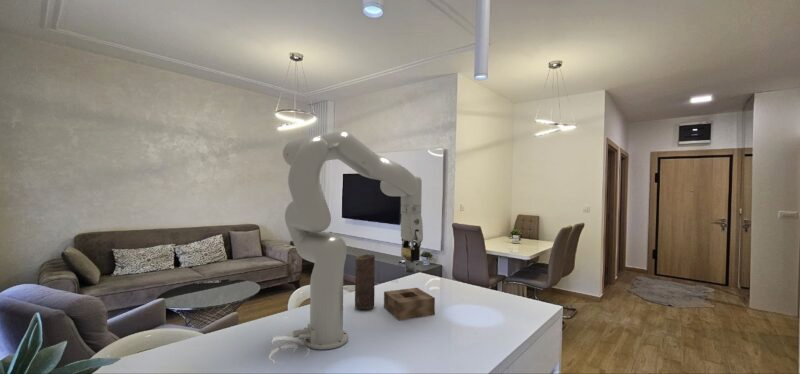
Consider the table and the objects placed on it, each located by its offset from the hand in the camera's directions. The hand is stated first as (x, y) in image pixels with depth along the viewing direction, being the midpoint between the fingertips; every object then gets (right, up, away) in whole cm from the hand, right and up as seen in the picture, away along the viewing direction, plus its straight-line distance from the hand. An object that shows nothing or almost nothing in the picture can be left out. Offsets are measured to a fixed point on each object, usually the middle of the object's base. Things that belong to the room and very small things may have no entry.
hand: (410, 258), depth 127 cm
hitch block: (-1, -20, 0) cm, 20 cm away
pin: (0, -5, 0) cm, 5 cm away
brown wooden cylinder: (-17, -20, +3) cm, 26 cm away
